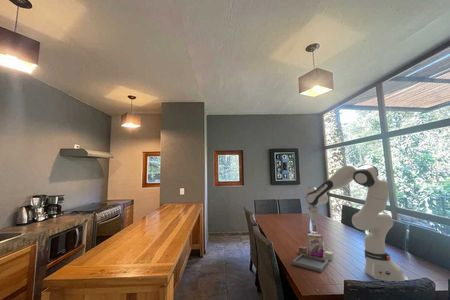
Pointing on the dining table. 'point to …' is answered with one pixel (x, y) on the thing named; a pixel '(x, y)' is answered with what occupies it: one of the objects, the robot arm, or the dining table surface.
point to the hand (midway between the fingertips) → (313, 224)
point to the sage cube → (328, 255)
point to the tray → (311, 262)
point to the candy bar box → (315, 245)
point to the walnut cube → (302, 250)
